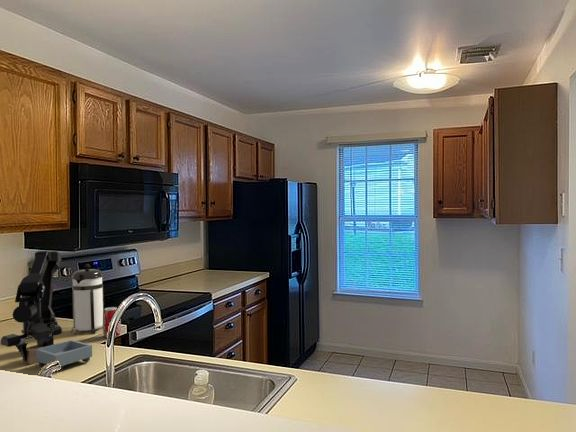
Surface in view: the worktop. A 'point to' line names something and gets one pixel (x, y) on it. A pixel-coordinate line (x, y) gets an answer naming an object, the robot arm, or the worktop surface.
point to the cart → (64, 353)
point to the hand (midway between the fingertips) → (33, 358)
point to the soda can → (106, 320)
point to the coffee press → (87, 299)
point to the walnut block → (31, 354)
